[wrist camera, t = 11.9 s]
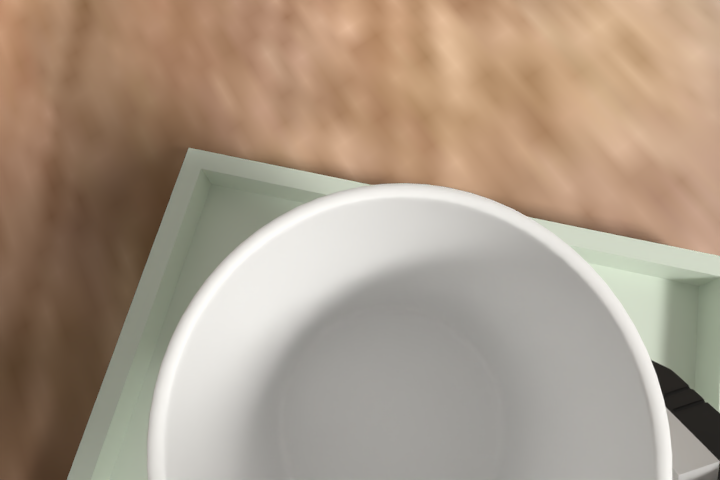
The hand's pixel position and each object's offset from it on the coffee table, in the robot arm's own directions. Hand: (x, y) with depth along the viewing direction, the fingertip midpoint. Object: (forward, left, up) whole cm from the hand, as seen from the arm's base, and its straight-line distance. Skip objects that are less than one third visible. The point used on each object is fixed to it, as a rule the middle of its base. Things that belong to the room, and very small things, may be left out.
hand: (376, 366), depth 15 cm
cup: (+2, -3, -4) cm, 5 cm away
